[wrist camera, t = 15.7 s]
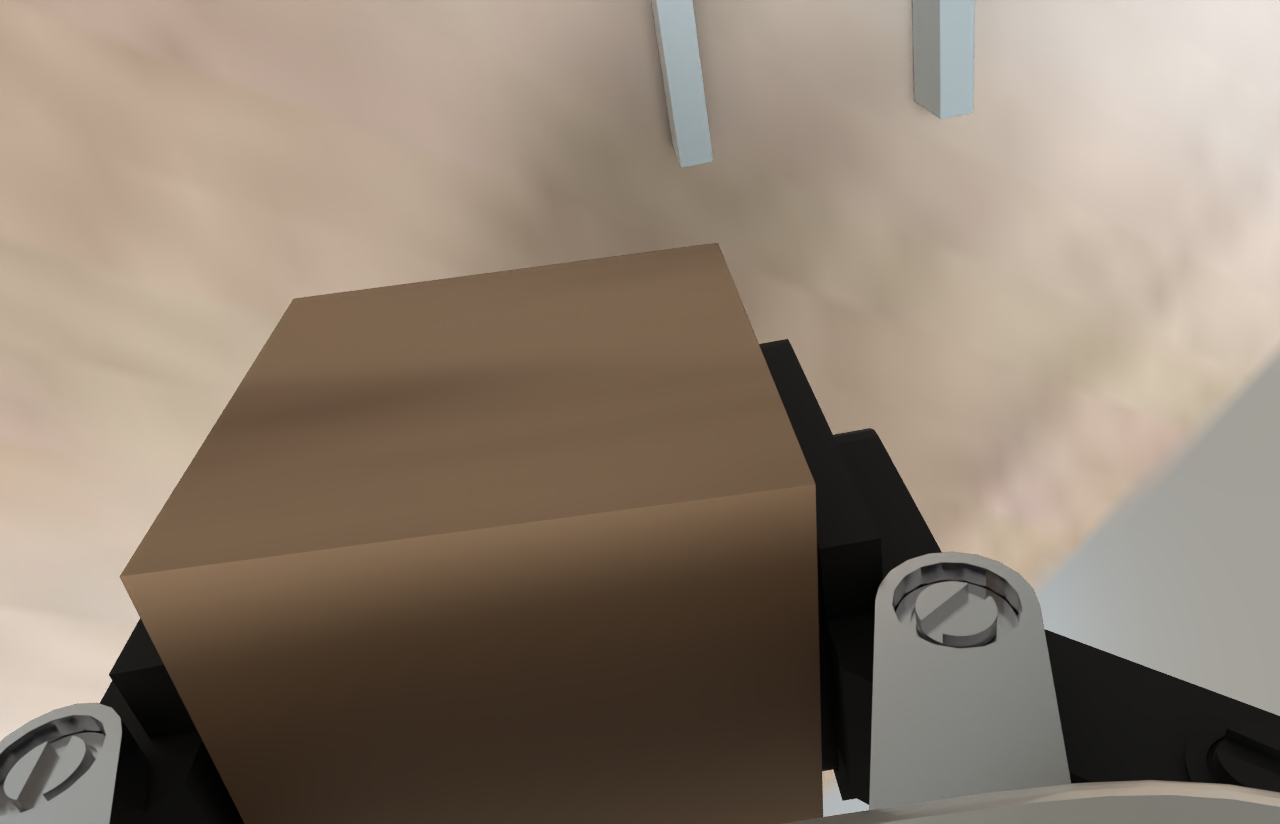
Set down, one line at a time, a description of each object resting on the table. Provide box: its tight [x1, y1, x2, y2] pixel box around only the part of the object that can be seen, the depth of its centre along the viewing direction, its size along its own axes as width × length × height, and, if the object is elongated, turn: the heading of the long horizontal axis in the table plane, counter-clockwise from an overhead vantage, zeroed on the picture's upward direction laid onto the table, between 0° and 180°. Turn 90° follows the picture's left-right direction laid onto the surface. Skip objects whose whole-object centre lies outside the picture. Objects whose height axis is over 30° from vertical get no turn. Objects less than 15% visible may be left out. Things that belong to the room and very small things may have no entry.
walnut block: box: [120, 243, 823, 824], centre depth 10 cm, size 5×5×5 cm
